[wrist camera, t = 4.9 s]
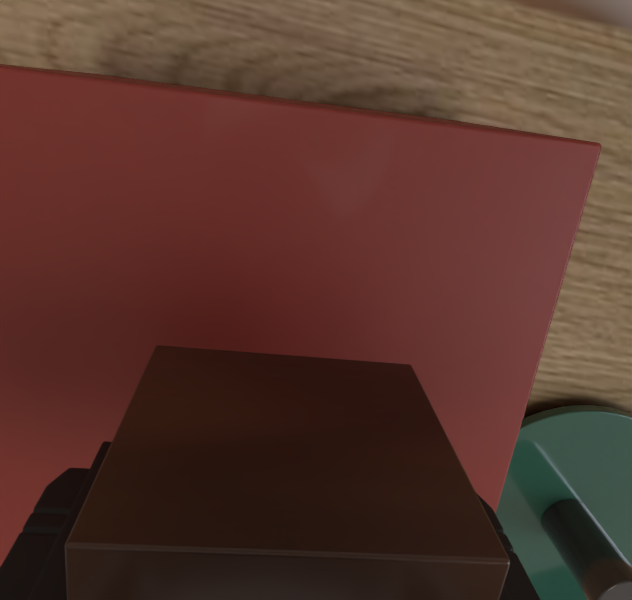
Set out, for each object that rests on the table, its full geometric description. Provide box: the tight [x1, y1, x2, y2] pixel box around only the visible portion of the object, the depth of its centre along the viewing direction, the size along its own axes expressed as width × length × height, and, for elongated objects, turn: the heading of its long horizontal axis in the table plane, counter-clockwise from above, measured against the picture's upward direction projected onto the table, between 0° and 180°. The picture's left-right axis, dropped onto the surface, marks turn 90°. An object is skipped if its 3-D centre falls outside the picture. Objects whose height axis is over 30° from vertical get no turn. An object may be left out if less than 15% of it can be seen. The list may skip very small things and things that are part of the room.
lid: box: [496, 405, 632, 600], centre depth 26 cm, size 12×12×6 cm
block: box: [65, 345, 510, 600], centre depth 9 cm, size 5×5×5 cm
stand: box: [0, 64, 601, 567], centre depth 19 cm, size 14×14×10 cm
